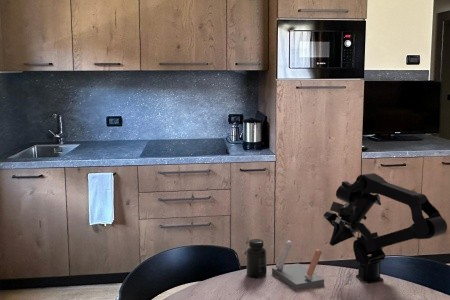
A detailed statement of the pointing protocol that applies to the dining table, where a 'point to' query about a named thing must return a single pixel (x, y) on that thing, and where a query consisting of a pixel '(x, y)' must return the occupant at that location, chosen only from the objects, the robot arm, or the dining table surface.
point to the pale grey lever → (284, 255)
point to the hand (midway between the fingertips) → (330, 244)
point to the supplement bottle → (256, 259)
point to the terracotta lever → (313, 265)
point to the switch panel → (297, 277)
